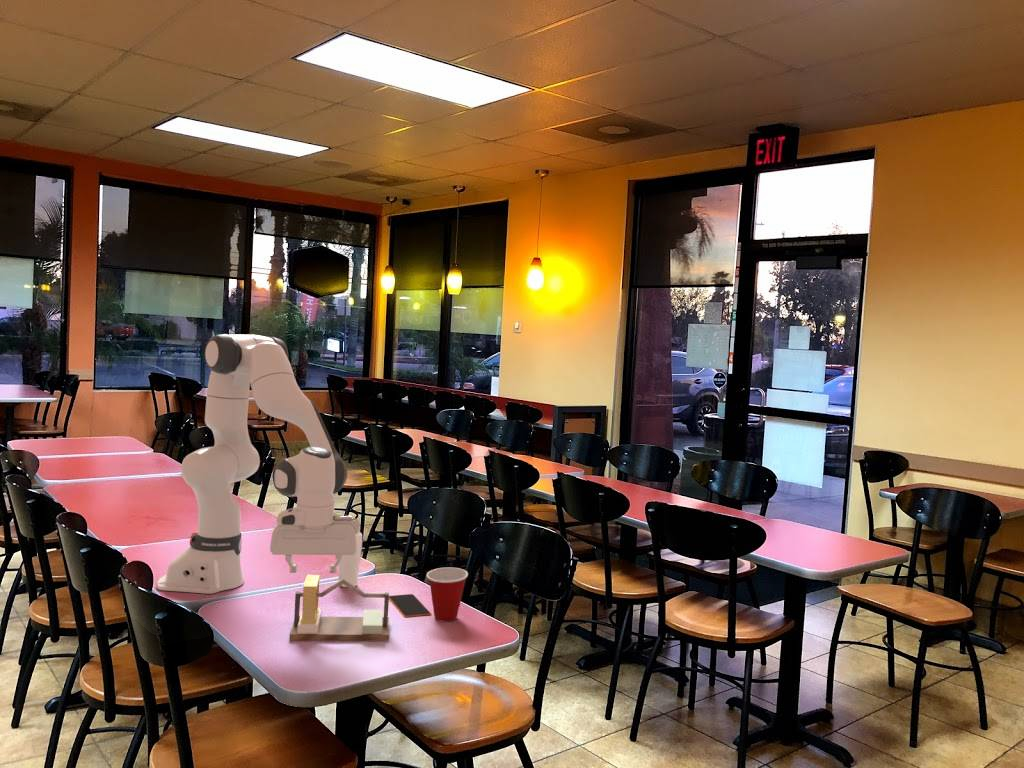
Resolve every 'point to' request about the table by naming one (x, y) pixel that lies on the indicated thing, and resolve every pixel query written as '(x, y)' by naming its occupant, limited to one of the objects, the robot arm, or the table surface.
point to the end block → (372, 622)
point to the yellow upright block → (310, 600)
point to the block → (309, 626)
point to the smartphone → (409, 605)
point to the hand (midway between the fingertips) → (313, 572)
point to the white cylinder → (351, 564)
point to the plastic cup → (446, 591)
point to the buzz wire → (341, 621)
